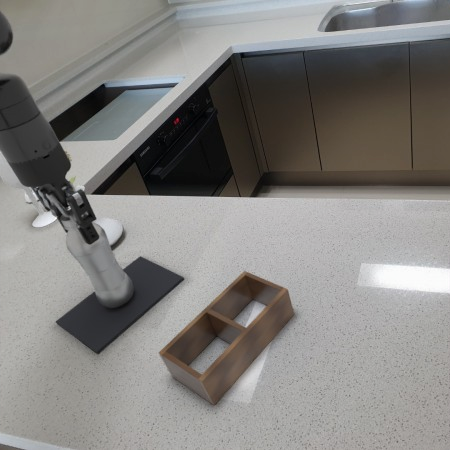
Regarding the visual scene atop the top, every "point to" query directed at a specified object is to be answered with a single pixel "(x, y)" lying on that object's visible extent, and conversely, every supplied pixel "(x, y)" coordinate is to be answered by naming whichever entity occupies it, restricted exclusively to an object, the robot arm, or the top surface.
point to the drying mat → (124, 315)
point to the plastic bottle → (99, 265)
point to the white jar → (28, 197)
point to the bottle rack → (228, 335)
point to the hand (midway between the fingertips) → (83, 235)
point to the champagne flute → (9, 178)
